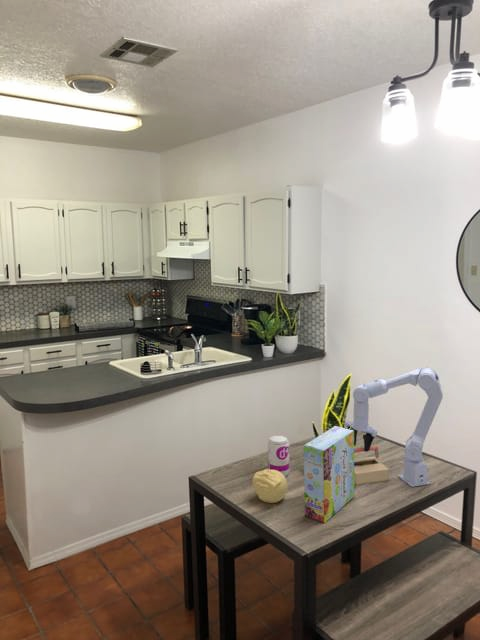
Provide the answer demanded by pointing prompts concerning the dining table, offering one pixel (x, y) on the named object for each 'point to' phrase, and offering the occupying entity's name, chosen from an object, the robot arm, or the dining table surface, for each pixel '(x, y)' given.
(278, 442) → the supplement can
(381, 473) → the carton
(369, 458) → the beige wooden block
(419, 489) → the dining table surface
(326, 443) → the snack box
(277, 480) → the pale yellow round lump
